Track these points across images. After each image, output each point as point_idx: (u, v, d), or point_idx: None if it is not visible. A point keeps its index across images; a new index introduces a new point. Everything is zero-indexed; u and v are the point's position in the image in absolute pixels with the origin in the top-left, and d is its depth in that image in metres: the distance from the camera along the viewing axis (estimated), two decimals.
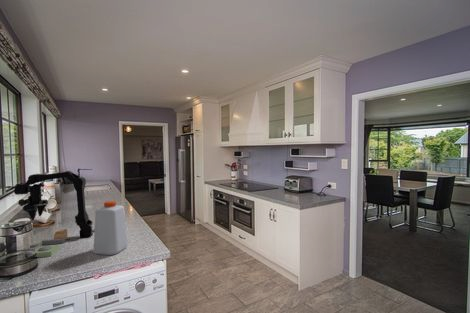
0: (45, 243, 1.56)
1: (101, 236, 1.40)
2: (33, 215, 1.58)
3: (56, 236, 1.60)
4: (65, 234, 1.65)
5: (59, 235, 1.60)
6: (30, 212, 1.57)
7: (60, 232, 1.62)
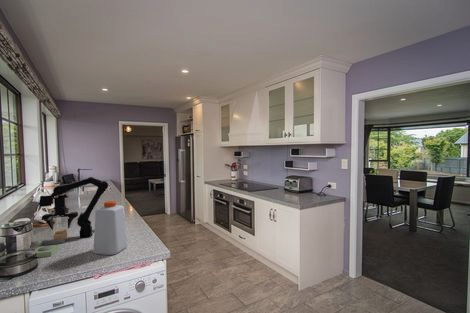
0: (45, 243, 1.56)
1: (101, 236, 1.40)
2: None
3: (56, 236, 1.60)
4: (65, 234, 1.65)
5: (59, 235, 1.60)
6: None
7: (60, 232, 1.62)
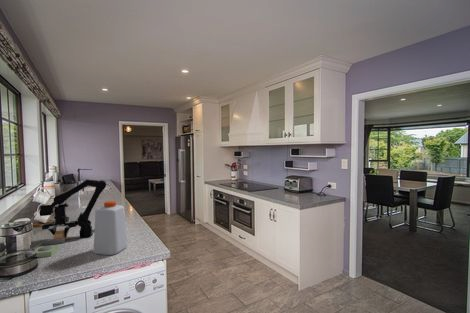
0: (45, 243, 1.56)
1: (101, 236, 1.40)
2: None
3: (56, 236, 1.60)
4: None
5: (59, 235, 1.60)
6: None
7: (60, 232, 1.62)
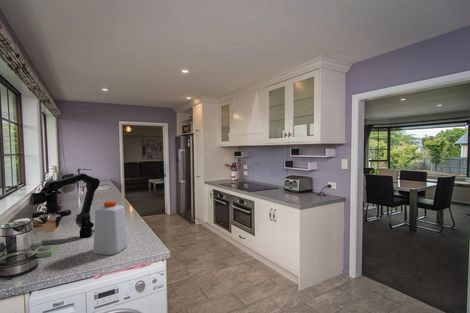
0: (45, 243, 1.56)
1: (101, 236, 1.40)
2: None
3: (47, 225, 1.49)
4: None
5: (50, 224, 1.49)
6: None
7: (51, 221, 1.51)
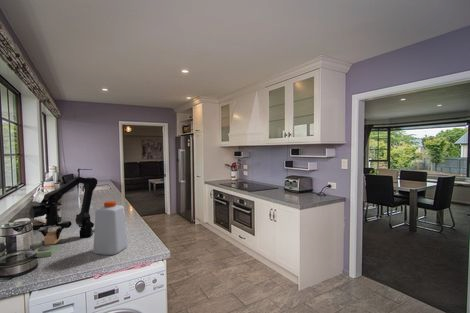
0: None
1: (101, 236, 1.40)
2: None
3: (47, 238, 1.48)
4: None
5: (50, 236, 1.48)
6: None
7: (52, 233, 1.50)
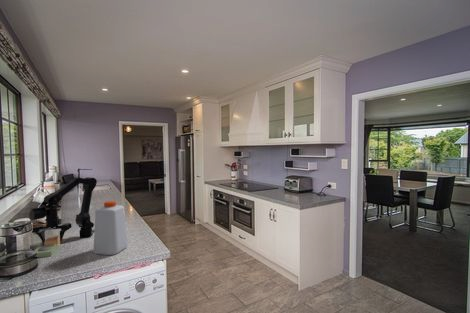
0: None
1: (101, 236, 1.40)
2: None
3: (47, 243, 1.48)
4: (57, 241, 1.53)
5: (50, 242, 1.48)
6: None
7: (52, 239, 1.50)
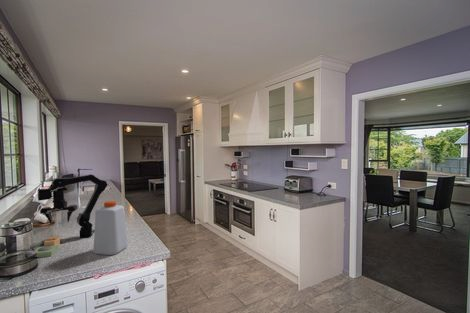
0: None
1: (101, 236, 1.40)
2: None
3: (47, 243, 1.48)
4: (57, 241, 1.53)
5: (50, 242, 1.48)
6: None
7: (51, 239, 1.50)
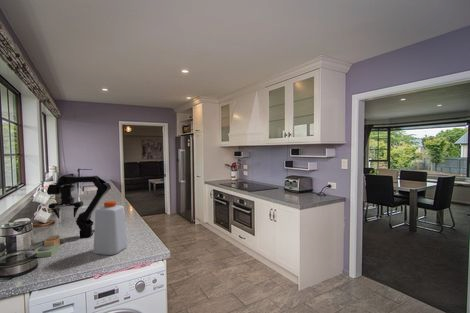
0: None
1: (101, 236, 1.40)
2: None
3: (47, 243, 1.48)
4: (57, 241, 1.53)
5: (50, 242, 1.48)
6: None
7: (51, 239, 1.50)
